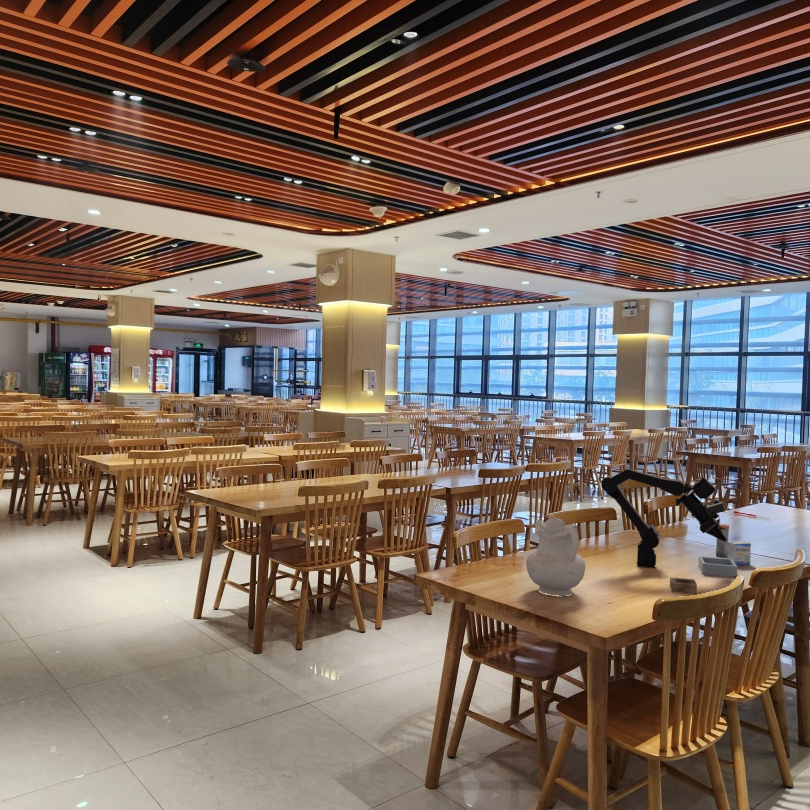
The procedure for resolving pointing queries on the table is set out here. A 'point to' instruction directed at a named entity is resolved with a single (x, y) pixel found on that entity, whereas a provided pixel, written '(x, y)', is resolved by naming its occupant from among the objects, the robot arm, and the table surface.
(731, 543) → the medicine box
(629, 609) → the table surface
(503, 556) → the table surface
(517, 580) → the table surface
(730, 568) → the tray
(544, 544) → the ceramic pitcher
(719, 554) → the pin
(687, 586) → the socket block
